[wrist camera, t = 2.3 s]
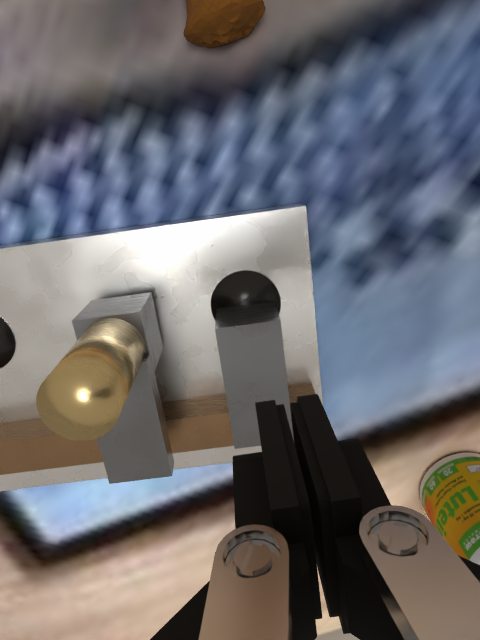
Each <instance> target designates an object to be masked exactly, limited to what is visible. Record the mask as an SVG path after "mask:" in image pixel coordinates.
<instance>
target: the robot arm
mask: <svg viewBox="0 0 480 640" xmlns="http://www.w3.org/2000/svg"><path fill="white" fill-rule="evenodd" d="M255 406H256V413H257V420H258V427H259V434H260V441H261V449H262V452H256V453H249V454H242V455H235V456H233V480H234V503H235V526H236V529H235V530H233V531H231V532H230V533H229V534H227V535H226V536H225V537H224V538H223V539H222V541H221V542H220V543H219V544H218V547H217V550H216V552H215V557H214V562H213V567H212V572H211V578H210V581H209V582H208V583H207V584H206V585H205V586H204V587H203V588H202V589H201V590H200V591H199V592H198V593H197V594H196V595H195V596H194V597H193V598H192V599H191V600H190V601H189V602H188V603H187V604H186V605H185V606H184V607H183V608H182V609H181V610H180V611H179V612H178V613H176V614H175V615H174V616H173V617H172V618H171V619H170V620H169V621H168V622H167V623H166V624H165V625H164V626H163V627H162V628H161V629H160V630H159V631H158V632H157V633H156V634H155V635H154V636H153V637H152V638H151V639H150V640H315V639H316V637H317V631H316V622H315V619H321V618H322V611H321V601H320V592H319V582H318V573H317V567H318V571H319V575H320V579H321V584H322V588H323V592H324V596H325V600H326V604H327V609H328V612H329V616H330V617H336V616H339V619H340V622H341V626H342V630H343V633H344V634H346V633H351V634H352V635H354V636H356V637H357V638H359V639H360V640H480V565H478V564H476V563H474V562H472V561H470V560H467V559H465V558H463V557H461V556H459V555H457V554H456V552H455V551H454V550H453V549H452V548H451V546H450V545H449V544H448V543H447V541H446V540H445V539H444V538H443V536H442V535H441V534H440V533H439V531H438V530H437V529H436V528H435V526H434V525H433V524H432V523H431V522H430V521H429V520H428V519H427V518H426V517H425V516H424V515H422V514H420V513H418V512H417V511H415V510H412V509H409V508H406V507H403V506H392V505H391V504H390V502H389V500H388V498H387V496H386V494H385V492H384V490H383V488H382V486H381V484H380V482H379V480H378V478H377V476H376V474H375V472H374V470H373V468H372V466H371V464H370V462H369V460H368V458H367V456H366V454H365V452H364V450H363V448H362V446H361V444H360V442H359V440H358V439H349V440H342V441H337V439H336V436H335V434H334V431H333V429H332V427H331V424H330V422H329V420H328V417H327V415H326V412H325V410H324V408H323V405H322V403H321V400H320V398H319V396H318V394H312V395H305V396H298V397H297V402H294V403H290V411H291V420H292V429H293V437H294V441H293V437H292V433H291V429H290V426H289V422H288V418H287V414H286V410H285V407H284V404H280V405H276V402H275V400H270V401H263V402H255Z"/></svg>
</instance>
